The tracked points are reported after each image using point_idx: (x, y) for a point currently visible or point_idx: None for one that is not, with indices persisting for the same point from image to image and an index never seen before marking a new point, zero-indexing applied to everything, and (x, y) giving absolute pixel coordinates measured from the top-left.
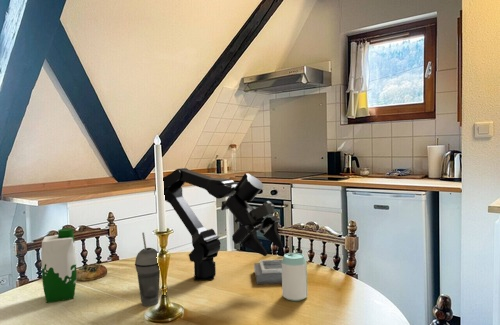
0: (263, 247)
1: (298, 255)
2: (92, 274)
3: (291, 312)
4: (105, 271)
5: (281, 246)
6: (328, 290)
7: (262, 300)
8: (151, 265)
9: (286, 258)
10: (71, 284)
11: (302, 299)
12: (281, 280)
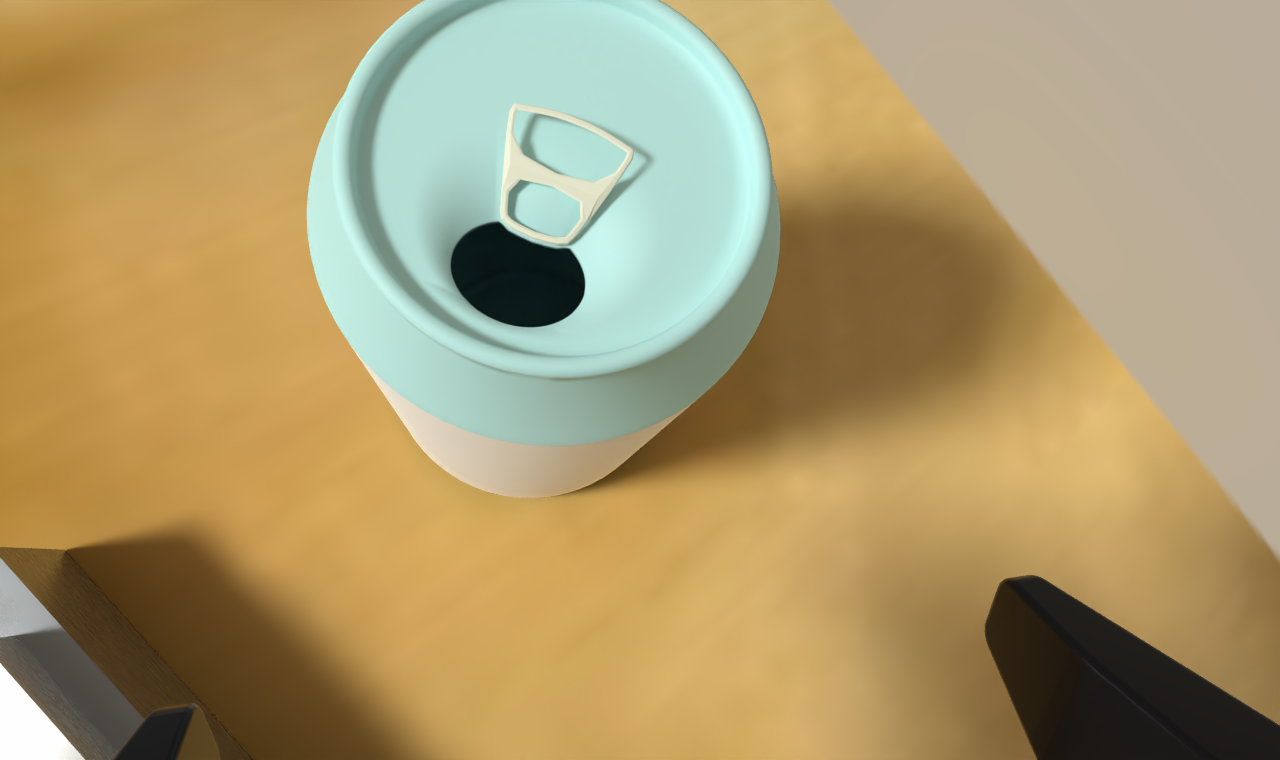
0: (1161, 694)
1: (437, 127)
2: None
3: (834, 216)
4: None
5: (198, 740)
6: (148, 158)
7: (806, 595)
8: None
9: (762, 223)
10: None
11: (544, 266)
12: (233, 757)
